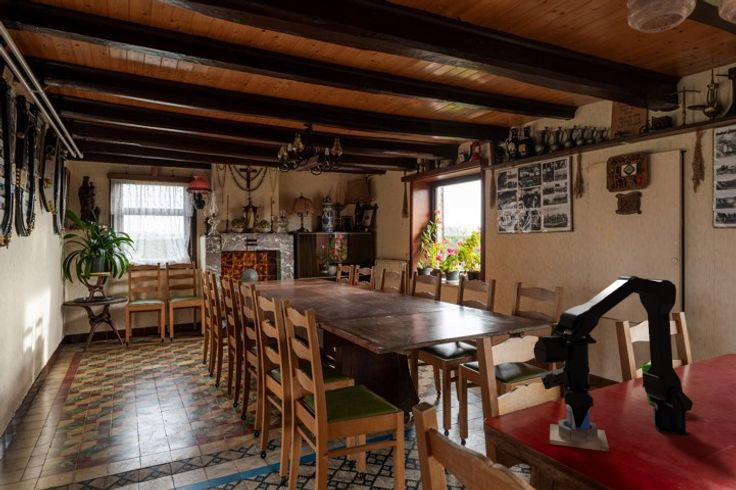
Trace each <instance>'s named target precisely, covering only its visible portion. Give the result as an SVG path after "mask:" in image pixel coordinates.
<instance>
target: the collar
mask: <svg viewBox="0 0 736 490" xmlns="http://www.w3.org/2000/svg"><path fill="white" fill-rule="evenodd" d="M549 444H550V445H556V446H557V445H558V446H564V447H573V448H578V449H587V450H593V451H594V450H595V451H600V450H601V452H608V451H609V452H610V447H609V443H608V440H607V436H606V432H605V430H604V429H598V427H597V424H595V423H594V422H591V421H590V429H588V430H577V429H571V428H569V427H567V418H563V419H559V420H558V424H553V423H550V426H549Z"/></svg>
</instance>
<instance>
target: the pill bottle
mask: <svg viewBox="0 0 736 490" xmlns="http://www.w3.org/2000/svg"><path fill="white" fill-rule="evenodd" d="M590 409H591V408H590ZM590 409H589V411H588V413H587V415H586V417H585V419H584V421H583V423H582V425H581V427H576V426H575V421H574V417H573V413H572V408H571V407H570V406H569V405H567V404H566V419H567V427H569V428H571V429H577V430H588V429H590V422H591V410H590Z"/></svg>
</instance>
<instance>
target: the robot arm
mask: <svg viewBox="0 0 736 490" xmlns="http://www.w3.org/2000/svg"><path fill="white" fill-rule="evenodd" d="M633 293H634V294H638V295H639V300H640V303H641V304H642V306H643V308H644V309H645V312H646V314H647V324H648V325H647V327H648V328H647V329H648V339H649V341H648V342H649V343H648V344H649V356H650V364H651V367H650V368H649V370H648V371H647V372H643V373H642V372H641V373H642V374H641V375H642V385H641V386H642V388H644V392H645V393H646V395H647V394H648V396H649V399H650V401H651V402H655V405H654V408H653V409H652V419H653V422H652V423H653V425H654V426H655V428H656V429H657V431H658V432H660V433H661V432H663V433H667V434H669V433H670V434H678V435H685V436H686V435H688V434H689V432H688V431H687V429H686V428H687V427H686V426H687V425H686V423H687V421H686V413H687V411H688V412H689V411H692V408H693V404H694V403H693V401H692V399H691V398H689V397H688V396H687V394H686V393H685V392H684V389H683V386H682V381H681V378H680V377H679V375H678V373H677V371H676V370H675V368H674V363H673V362H674V361H673V350H672V349H673V348H672V334H671V333H672V331H671V317H670V315H671V314H670V313H671V311H672V310H673V308H674V306H675V305H676V302H677V301H676V300H677V299H676V298H677V287H676V284H674V283H673V282H672V281H671V280H669V279H660V278H659V279H658V278H642V277H639V276H637V275H621V276H619V277H618V278H617V280H615V281H614V282H613V283H611V284H610V285H609V286H608V287H606V288H604V289H603V290H602V291H601V292H599V293H598V294H596V295H595V296H594V297H592V298H591V299H590V300H588V301H587V302H585V303H582V304H580V305H576V306H573V307H571V308H569V309H567V310H565V311H563V312H562V313H561V314H560V316H559V321H558V322H557V324H556V325H555V327H554V328H553V330H552V331H551V333H550V335H538V337H537V341H535V344H534V347H533V355H534V358H535V360H536V362H537V363H538V364H539V365H546V364H548V365H549V364H559V363H560V364H561V363H562V367H561V368H559V369H558V368H557V369H553V370H550V371H546V372H542V373H541V374H540V379H541V382H542V384H543V387H544V390H551V389H552V388H556V387H560V386H563V401H564V404H565V405H566V406H567V405H569V406H570V407H571V408H572V413H573V417H574V421H575V426H576V427H581V425H582V423H583V421H584V419H585V417H586V415H587V413H588V411H589V409H591V408H592V407H594V397H593V394H592V393H591V392H590V391H589V390H590V389H591V383H590V369H591V368H590V359H589V358H590V355H589V353H590V351H589V348H590V347H589V344H590V345H591V344H593V345H595V344H597V340H596V339H595V338H593V337H592V335H591V334H590V333H592V332H593V330H594V329H595V328H596V327H597V326H598V325H599V322H600V319H601V318H602V317H603V316H604V315H605V314H607V313H608V312H610V311H611V310H612V309H613V308H614V307H616V306H617V305H619V304H620V303H621V302H623V301H625V300H626V299H627V298H628V297H629V296H631V295H633Z"/></svg>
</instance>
